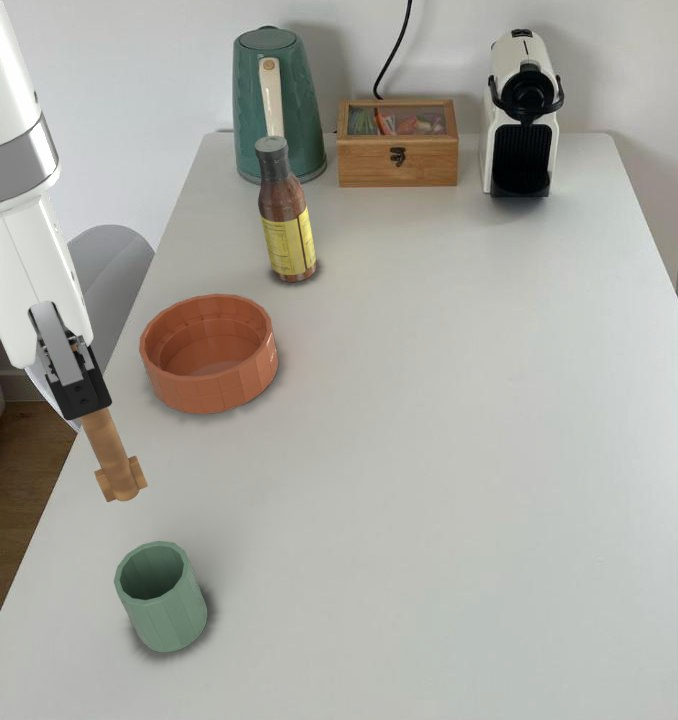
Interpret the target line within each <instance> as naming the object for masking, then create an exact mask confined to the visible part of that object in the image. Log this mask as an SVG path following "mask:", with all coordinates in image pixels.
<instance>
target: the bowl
mask: <svg viewBox="0 0 678 720" xmlns="http://www.w3.org/2000/svg"><path fill="white" fill-rule="evenodd" d="M274 333H275V332H274V327H273V322H272V318H271V317H270V315H269V314H268V312H267V311H266V309H265V308H264V307H263V306H262V305H260V304H259V303H257V302H256V301H254V300H252V299H251V298H248V297H245V296H240V295H237V294H228V293H209V294H203V295H196V296H192V297H189V298H186V299H183V300H181V301H177V302H176V303H174V304H172V305H170V306H168V307H166V308H164V309H163V310H161V311H160V312H159V313H157V314H156V316H154V317H153V318H152V319H151V320H149V322H148V323H147V324H146V326H145V328H144V330H143V332H142V333H141V334H140V337H139V345H138V352H139V355H140V358H141V361H142V364H143V367H144V369H145V373H146V376H147V378H148V381H149V384H150V386H151V389H152V392H153V393H154V395H155V397H156V398H157V399H158V400H159V401H161V402H162V403H163V404H164V405H165V406H167V407H168V408H171V409H174V410H177V411H179V412H182V413H187V414H199V415H208V414H209V415H210V414H214V413H215V414H216V413H221V412H226V411H229V410H231V409H235V408H237V407H240V406H242V405H245V404H247V403H249V402H250V401H252V400H253V399H254V398H256V397H258V396H259V395H260V394H262V393H263V392H264V391H265V389H266V388H268V386H269V385H270V384H271V383H272V382H273V380H274V378H275V376H276V373H277V370H278V368H279V356H278V350H277V344H276V339H275V334H274Z"/></svg>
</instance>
